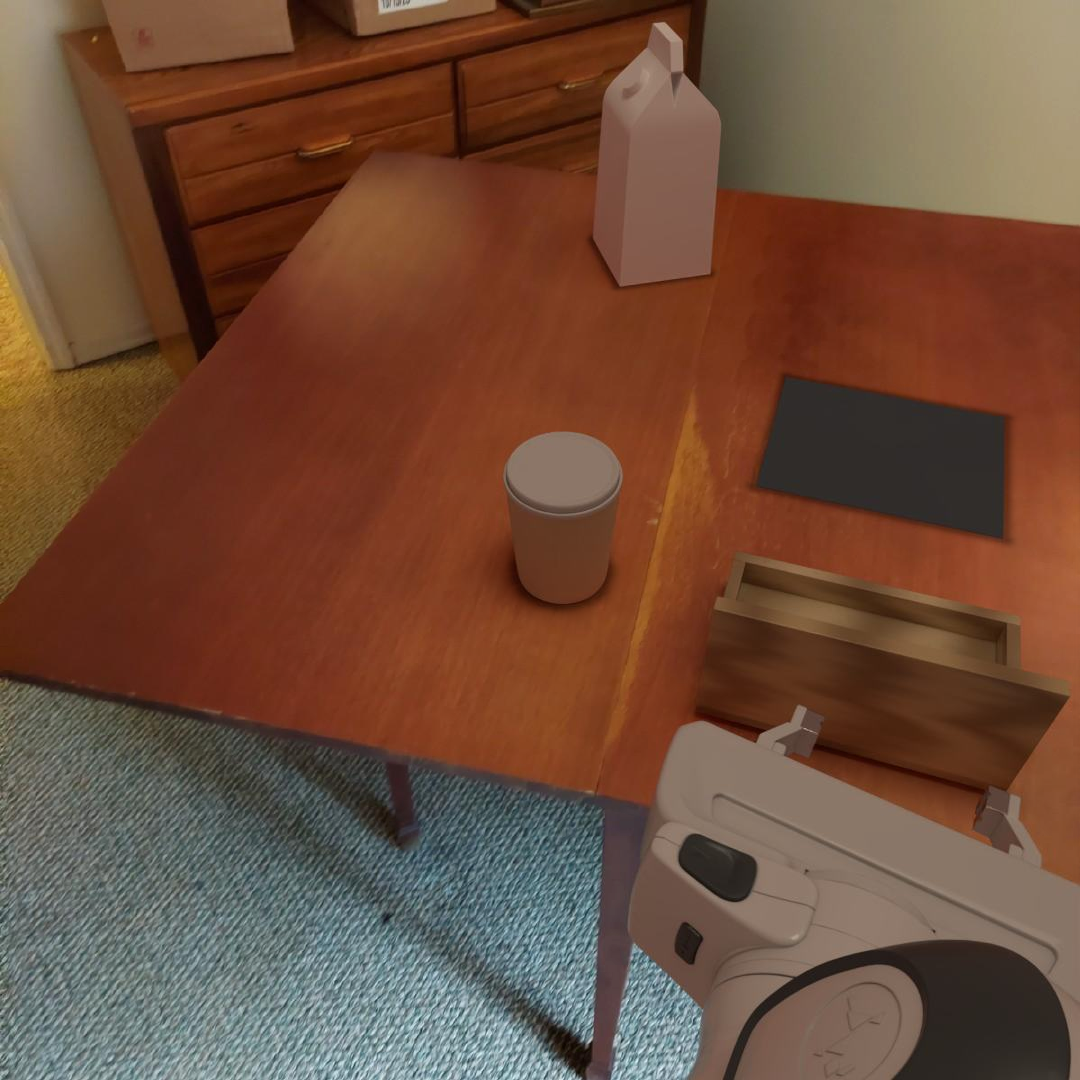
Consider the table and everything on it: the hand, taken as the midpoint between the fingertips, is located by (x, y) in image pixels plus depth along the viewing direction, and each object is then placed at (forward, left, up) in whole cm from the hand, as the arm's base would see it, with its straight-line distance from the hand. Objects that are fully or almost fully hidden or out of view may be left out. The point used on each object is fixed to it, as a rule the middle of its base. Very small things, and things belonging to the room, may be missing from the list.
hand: (900, 757), depth 47 cm
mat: (0, -49, -20) cm, 52 cm away
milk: (+31, -78, -20) cm, 86 cm away
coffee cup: (+25, -24, -20) cm, 40 cm away
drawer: (0, -20, -20) cm, 28 cm away
